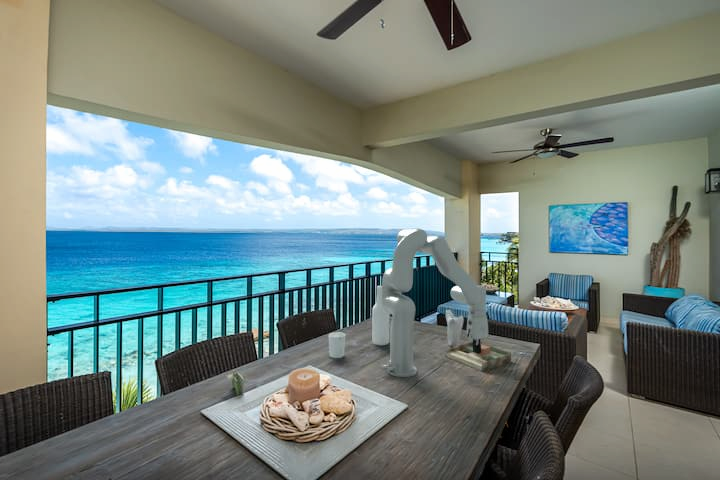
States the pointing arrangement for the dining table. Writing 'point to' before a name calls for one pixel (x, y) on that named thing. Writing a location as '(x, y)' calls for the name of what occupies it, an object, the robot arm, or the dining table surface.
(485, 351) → the block
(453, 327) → the shell sculpture
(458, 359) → the box
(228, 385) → the dining table surface
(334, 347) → the white cup
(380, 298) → the alcohol
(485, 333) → the robot arm
